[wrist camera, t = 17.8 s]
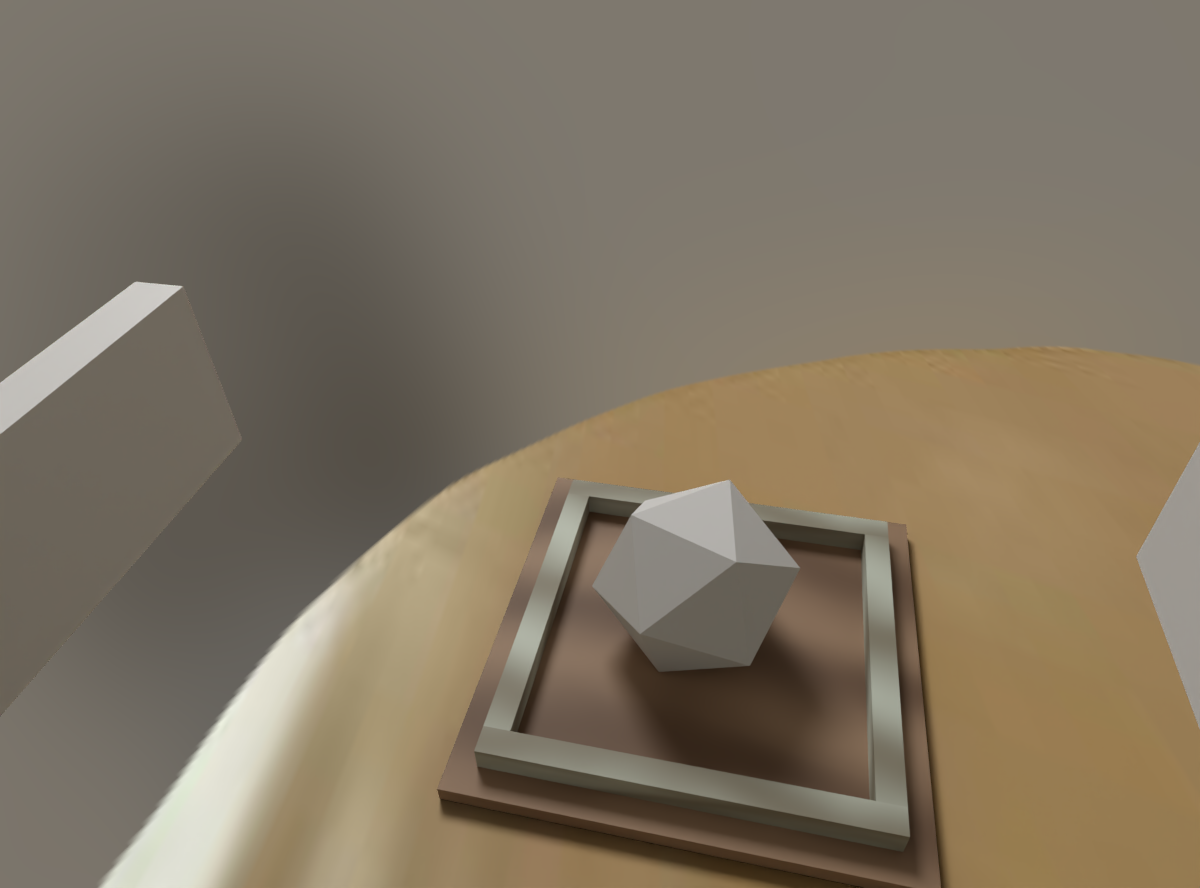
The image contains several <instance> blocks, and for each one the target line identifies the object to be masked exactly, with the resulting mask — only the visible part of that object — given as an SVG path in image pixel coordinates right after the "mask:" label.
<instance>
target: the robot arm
mask: <svg viewBox="0 0 1200 888" xmlns="http://www.w3.org/2000/svg"><path fill="white" fill-rule="evenodd" d="M241 440H242V438H241V435H240V433H239V430H238V428H237V425H236V422H235V420H234V417H233V415H232V412H231V409H230V407H229V404H228V401H227V399H226V396H225V394H224V391H223V389H222V386H221V383H220V381H219V378H218V376H217V373H216V370H215V368H214V365H213V362H212V360H211V357H210V355H209V352H208V350H207V347H206V344H205V342H204V339H203V337H202V334H201V331H200V329H199V326H198V324H197V321H196V318H195V316H194V313H193V311H192V308H191V305H190V303H189V300H188V298H187V295H186V293H185V290H184V287H183V286H174V285H163V284H152V283H142V282H135V283H133V284H132V285H131V286H129V287H128V288H127V289H125V290H124V291H123V292H121V293H120V294H118V295H117V296H116V297H114V298H113V299H112V300H110V301H109V302H108V303H107V304H105V305H104V306H102V307H101V308H100V309H98V310H97V311H96V312H95V313H93V314H92V315H90V316H89V317H88V318H87V319H85V320H84V321H82V322H81V323H80V324H78V325H77V326H76V327H74V328H73V329H72V330H70V331H69V332H68V333H66V334H65V335H64V336H62V337H61V338H60V339H58V340H57V341H56V342H54V343H53V344H52V345H50V346H49V347H48V348H46V349H45V350H44V351H42V352H41V353H40V354H38V355H37V356H36V357H34V358H33V359H31V360H30V361H29V362H28V363H26V364H25V365H23V366H22V367H21V368H19V369H18V370H17V371H15V372H14V373H13V374H11V375H10V376H9V377H7V378H6V379H5V380H3V381H2V382H1V383H0V716H1V715H2V714H3V713H4V711H5V710H6V709H7V708H8V707H9V706H10V704H11V703H12V702H13V701H14V700H15V699H16V697H18V695H19V694H20V693H21V692H22V691H23V690H24V689H25V687H26V686H27V685H28V684H29V683H30V682H31V680H32V679H33V678H34V677H35V676H36V675H37V674H38V672H39V671H40V670H41V669H42V668H43V667H44V666H45V664H46V663H47V662H48V661H49V660H50V659H51V658H52V656H53V655H54V654H55V653H56V652H57V651H58V650H59V648H60V647H61V646H62V645H63V644H64V643H65V642H66V641H67V639H68V638H69V637H70V636H71V635H72V634H73V632H74V631H75V630H76V629H77V628H78V627H79V626H80V625H81V623H82V622H83V621H84V620H85V619H86V618H87V617H88V615H89V614H90V613H91V612H92V611H93V609H95V607H96V606H97V605H98V604H99V603H100V602H101V600H102V599H103V598H104V597H105V596H106V595H107V594H108V592H109V591H110V590H111V589H112V588H113V587H114V586H115V585H116V583H117V582H118V581H119V580H120V579H121V578H122V576H123V575H124V574H125V573H126V572H127V571H128V570H129V568H130V567H131V566H132V565H133V564H134V563H135V561H137V559H138V558H139V557H140V556H141V555H142V554H143V552H144V551H145V550H146V549H147V548H148V547H149V546H150V544H151V543H152V542H153V541H154V540H155V539H156V538H157V536H158V535H159V534H160V533H161V532H162V531H163V530H164V528H165V527H166V526H167V525H168V524H169V523H170V522H171V520H172V519H173V518H174V517H175V516H176V515H177V514H178V512H179V511H180V510H181V509H182V508H183V507H184V506H185V504H186V503H187V502H188V501H189V500H190V499H191V497H192V496H193V495H194V494H195V493H196V492H197V491H198V489H199V488H200V487H201V486H202V485H203V484H204V483H205V482H206V480H207V479H208V478H209V477H210V476H211V474H213V472H214V471H215V470H216V469H217V468H218V467H219V465H220V464H221V463H222V462H223V461H224V460H225V459H226V457H227V456H228V455H229V454H230V453H231V452H232V451H233V450H234V448H235V447H236V446H237V445H238V444H239V443H240V441H241ZM1136 557H1137V560H1138V563H1139V565H1140V568H1141V571H1142V573H1143V576H1144V579H1145V582H1146V584H1147V587H1148V590H1149V592H1150V595H1151V598H1152V601H1153V603H1154V606H1155V609H1156V611H1157V614H1158V617H1159V620H1160V622H1161V625H1162V628H1163V631H1164V633H1165V636H1166V639H1167V641H1168V644H1169V647H1170V650H1171V652H1172V655H1173V658H1174V660H1175V663H1176V666H1177V669H1178V671H1179V674H1180V677H1181V679H1182V682H1183V685H1184V688H1185V690H1186V693H1187V696H1188V699H1189V701H1190V704H1191V707H1192V709H1193V712H1194V715H1195V718H1196V720H1197V723H1198V726H1199V728H1200V443H1199V445H1198V447H1197V448H1196V450H1195V452H1194V454H1193V456H1192V457H1191V459H1190V461H1189V463H1188V465H1187V466H1186V468H1185V470H1184V472H1183V474H1182V475H1181V477H1180V479H1179V481H1178V483H1177V484H1176V486H1175V488H1174V490H1173V492H1172V493H1171V495H1170V497H1169V499H1168V501H1167V502H1166V504H1165V506H1164V508H1163V510H1162V511H1161V513H1160V515H1159V517H1158V519H1157V520H1156V522H1155V524H1154V526H1153V528H1152V529H1151V531H1150V533H1149V535H1148V537H1147V538H1146V540H1145V542H1144V544H1143V546H1142V547H1141V549H1140V551H1139V553H1138V555H1137V556H1136Z"/></svg>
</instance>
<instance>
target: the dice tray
mask: <svg viewBox="0 0 1200 888" xmlns="http://www.w3.org/2000/svg"><path fill="white" fill-rule="evenodd" d="M670 494H674V493H670V492H662V491H655V490H647V489H640V488H633V487H625V486H618V485H610V484H603V483H596V482H588V481H581V480H572V479H565V478H558V479H557V481H556V484H555V487H554V489H553V492H552V494H551V497H550V499H549V502H548V505H547V507H546V510H545V512H544V515H543V517H542V520H541V523H540V525H539V528H538V530H537V533H536V536H535V538H534V541H533V543H532V546H531V548H530V551H529V554H528V556H527V559H526V561H525V564H524V566H523V569H522V572H521V574H520V577H519V579H518V582H517V585H516V587H515V590H514V592H513V595H512V597H511V600H510V603H509V605H508V608H507V610H506V613H505V616H504V618H503V621H502V623H501V626H500V628H499V631H498V634H497V636H496V639H495V641H494V644H493V646H492V649H491V652H490V654H489V657H488V659H487V662H486V665H485V667H484V670H483V672H482V675H481V677H480V680H479V683H478V685H477V688H476V690H475V693H474V695H473V698H472V701H471V703H470V706H469V708H468V711H467V714H466V716H465V719H464V721H463V724H462V726H461V729H460V732H459V734H458V737H457V739H456V742H455V744H454V747H453V750H452V752H451V755H450V757H449V760H448V763H447V765H446V768H445V770H444V773H443V775H442V778H441V781H440V783H439V786H438V788H437V790H438V794H439V797H440V799H443V800H448V801H453V802H458V803H463V804H467V805H472V806H477V807H482V808H486V809H491V810H496V811H501V812H506V813H510V814H515V815H520V816H525V817H529V818H534V819H539V820H544V821H548V822H553V823H558V824H563V825H568V826H572V827H577V828H582V829H587V830H591V831H596V832H601V833H606V834H610V835H615V836H620V837H625V838H630V839H634V840H639V841H644V842H649V843H653V844H658V845H663V846H668V847H673V848H677V849H682V850H687V851H692V852H696V853H701V854H706V855H711V856H715V857H720V858H725V859H730V860H735V861H739V862H744V863H749V864H754V865H758V866H763V867H768V868H773V869H777V870H782V871H787V872H792V873H797V874H801V875H806V876H811V877H816V878H820V879H825V880H830V881H835V882H840V883H844V884H849V885H854V886H859V887H863V888H941V882H940V872H939V861H938V851H937V841H936V830H935V820H934V810H933V799H932V789H931V778H930V768H929V758H928V747H927V737H926V727H925V716H924V706H923V695H922V685H921V675H920V664H919V654H918V644H917V633H916V623H915V612H914V602H913V592H912V581H911V571H910V561H909V550H908V540H907V529H906V525H905V524H898V523H890V522H884V521H877V520H869V519H862V518H855V517H847V516H840V515H832V514H825V513H818V512H810V511H803V510H795V509H788V508H781V507H773V506H766V505H758V504H751V503H749V504H750V506H751V507H752V508H753V509H754V511H755V512H756V513H757V514H758V516H759V517H760V518H761V520H762V521H763V522H764V523H765V525H766V526H767V527H768V528H769V530H770V531H771V532H772V533H773V535H774V536H775V537H776V538H777V540H778V541H779V542H780V543H781V545H782V546H783V547H784V548H785V550H786V551H787V552H788V553H789V555H790V556H791V557H792V558H793V560H794V561H795V562H796V563H797V565H798V566H799V567H800V570H799V572H798V574H797V575H796V577H795V579H794V581H793V583H792V585H791V587H790V589H789V591H788V593H787V595H786V597H785V599H784V601H783V603H782V605H781V607H780V608H779V610H778V612H777V614H776V616H775V618H774V620H773V622H772V624H771V626H770V628H769V630H768V632H767V634H766V636H765V638H764V639H763V641H762V643H761V645H760V647H759V649H758V651H757V653H756V655H755V657H754V659H753V661H752V663H751V665H750V666H740V667H725V668H710V669H696V670H681V671H666V672H658V670H657V669H656V668H655V666H654V665H653V664H652V663H651V661H650V660H649V659H648V657H647V656H646V655H645V654H644V652H643V651H642V650H641V648H640V647H639V646H638V645H637V643H636V642H635V641H634V639H633V638H632V637H631V636H630V634H629V633H628V632H627V630H626V629H625V628H624V627H623V625H622V624H621V623H620V621H619V620H618V619H617V618H616V616H615V615H614V614H613V612H612V611H611V610H610V609H609V607H608V606H607V605H606V603H605V602H604V601H603V600H602V598H601V597H600V596H599V594H598V593H597V592H596V591H595V589H594V588H593V587H592V585H593V583H594V581H595V580H596V578H597V576H598V574H599V572H600V571H601V569H602V567H603V565H604V563H605V561H606V560H607V558H608V556H609V554H610V552H611V551H612V549H613V547H614V545H615V543H616V542H617V540H618V538H619V536H620V534H621V533H622V531H623V529H624V527H625V525H626V523H627V522H628V520H629V518H630V516H631V515H632V514H633V513H634V512H635V510H636V509H637V508H638V507H639V506H640V505H641V504H642V503H643V502H644V501H645V500H649V499H653V498H658V497H662V496H666V495H670Z"/></svg>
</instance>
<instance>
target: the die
mask: <svg viewBox="0 0 1200 888" xmlns="http://www.w3.org/2000/svg"><path fill="white" fill-rule="evenodd" d="M799 570H800V567H799V566H798V565H797V563H796V562H795V561H794V560H793V558H792V557H791V556H790V555H789V553H788V552H787V551H786V550H785V548H784V547H783V546H782V545H781V543H780V542H779V541H778V540H777V538H776V537H775V536H774V535H773V533H772V532H771V531H770V530H769V528H768V527H767V526H766V525H765V523H764V522H763V521H762V520H761V518H760V517H759V516H758V514H757V513H756V512H755V511H754V509H753V508H752V507H751V506H750V504H749V503H748V502H747V501H746V499H745V498H744V497H743V496H742V494H741V493H740V492H739V491H738V489H737V488H736V487H735V486H734V484H733V483H732V482H731V481H730V480H727V481H723V482H719V483H715V484H711V485H707V486H702V487H698V488H694V489H690V490H686V491H682V492H678V493H674V494H670V495H666V496H662V497H658V498H653V499H649V500H645V501H644V502H643V503H642V504H641V505H640V506H639V507H638V508H637V509H636V510H635V512H634V513H633V514H632V515H631V516H630V518H629V520H628V522H627V523H626V525H625V527H624V529H623V531H622V533H621V534H620V536H619V538H618V540H617V542H616V543H615V545H614V547H613V549H612V551H611V552H610V554H609V556H608V558H607V560H606V561H605V563H604V565H603V567H602V569H601V571H600V572H599V574H598V576H597V578H596V580H595V581H594V583H593V585H592V587H593V588H594V589H595V591H596V592H597V593H598V594H599V596H600V597H601V598H602V600H603V601H604V602H605V603H606V605H607V606H608V607H609V609H610V610H611V611H612V612H613V614H614V615H615V616H616V618H617V619H618V620H619V621H620V623H621V624H622V625H623V627H624V628H625V629H626V630H627V632H628V633H629V634H630V636H631V637H632V638H633V639H634V641H635V642H636V643H637V645H638V646H639V647H640V648H641V650H642V651H643V652H644V654H645V655H646V656H647V657H648V659H649V660H650V661H651V663H652V664H653V665H654V666H655V668H656V669H657V670H658V672H666V671H681V670H696V669H710V668H725V667H740V666H750V665H751V663H752V661H753V659H754V657H755V655H756V653H757V651H758V649H759V647H760V645H761V643H762V641H763V639H764V638H765V636H766V634H767V632H768V630H769V628H770V626H771V624H772V622H773V620H774V618H775V616H776V614H777V612H778V610H779V608H780V607H781V605H782V603H783V601H784V599H785V597H786V595H787V593H788V591H789V589H790V587H791V585H792V583H793V581H794V579H795V577H796V575H797V574H798V572H799Z"/></svg>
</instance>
